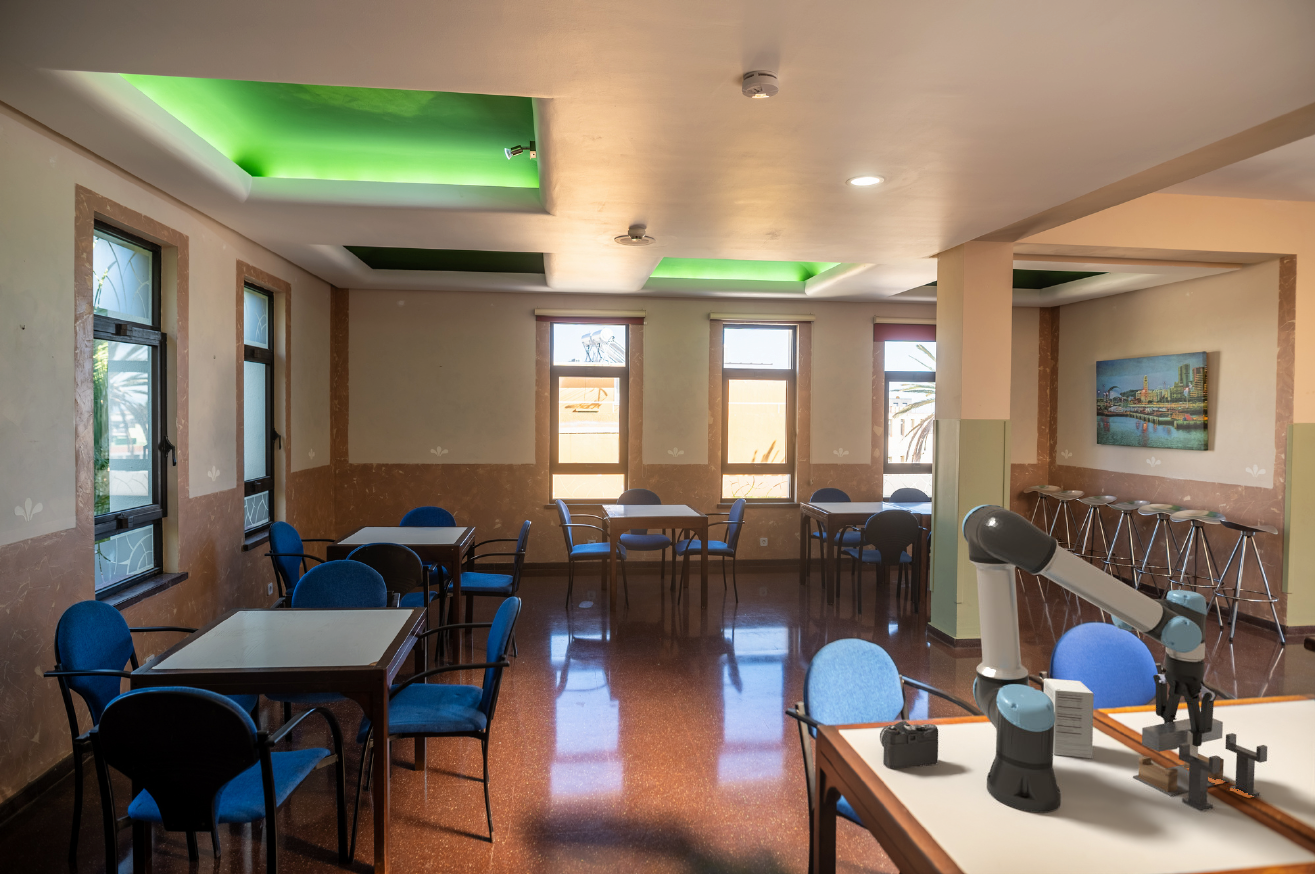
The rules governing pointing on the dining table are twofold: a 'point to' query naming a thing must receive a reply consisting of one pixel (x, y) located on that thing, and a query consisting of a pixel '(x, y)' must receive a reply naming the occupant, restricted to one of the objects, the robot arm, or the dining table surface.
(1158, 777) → the bench rests
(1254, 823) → the dining table surface
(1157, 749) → the rail
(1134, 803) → the dining table surface
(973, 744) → the dining table surface
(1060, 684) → the supplement box
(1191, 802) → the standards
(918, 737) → the camera
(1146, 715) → the dining table surface
